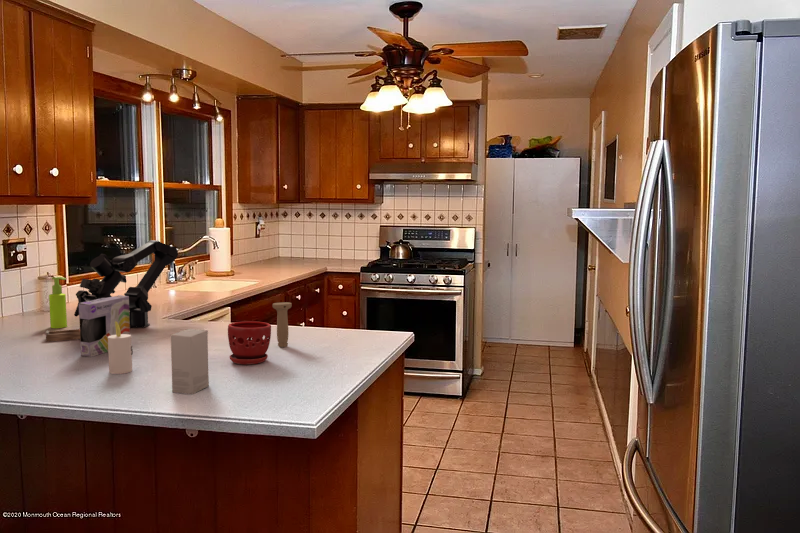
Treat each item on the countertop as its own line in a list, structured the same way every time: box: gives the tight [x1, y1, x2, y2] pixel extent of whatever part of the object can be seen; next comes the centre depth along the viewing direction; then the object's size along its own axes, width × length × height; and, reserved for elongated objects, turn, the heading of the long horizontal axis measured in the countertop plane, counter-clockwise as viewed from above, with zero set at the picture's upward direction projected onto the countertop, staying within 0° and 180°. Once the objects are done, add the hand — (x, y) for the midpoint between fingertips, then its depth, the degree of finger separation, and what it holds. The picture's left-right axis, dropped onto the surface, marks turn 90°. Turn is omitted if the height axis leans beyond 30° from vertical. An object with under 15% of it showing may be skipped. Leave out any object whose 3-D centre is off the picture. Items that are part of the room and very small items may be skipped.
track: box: [45, 328, 80, 343], centre depth 247 cm, size 16×7×4 cm, turn 116°
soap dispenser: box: [48, 276, 68, 329], centre depth 268 cm, size 6×7×20 cm
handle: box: [272, 301, 292, 348], centre depth 232 cm, size 5×6×15 cm
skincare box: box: [170, 328, 210, 395], centre depth 178 cm, size 8×7×16 cm
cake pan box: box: [78, 294, 131, 358], centre depth 225 cm, size 19×5×18 cm, turn 160°
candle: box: [107, 321, 133, 375], centre depth 198 cm, size 6×6×15 cm
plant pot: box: [227, 321, 272, 366], centre depth 210 cm, size 13×13×12 cm
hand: (81, 317), depth 248 cm, fingers open, 9 cm apart
